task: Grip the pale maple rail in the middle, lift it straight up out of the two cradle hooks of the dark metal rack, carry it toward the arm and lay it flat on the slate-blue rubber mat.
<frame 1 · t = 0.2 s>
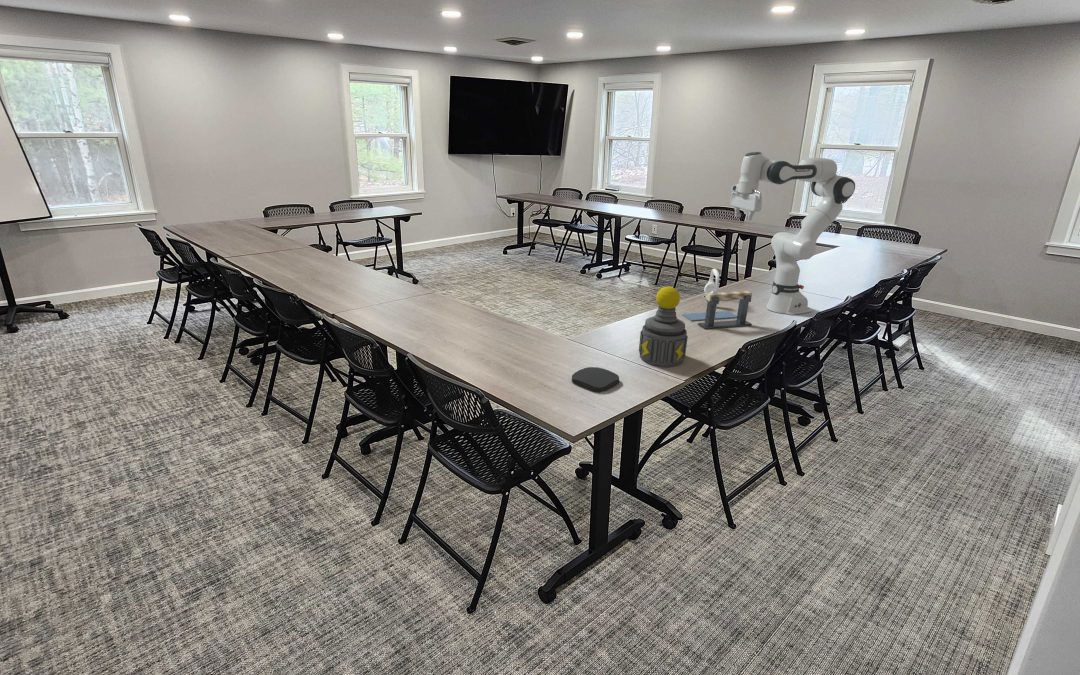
hand: (743, 218, 267), 47 cm above the table, tool pointing down, fingers open, 8 cm apart
rail: (728, 299, 263), point 13 cm above the table, touching hook rack
mat: (710, 316, 279), on the table
media streaming box: (595, 383, 207), on the table
hook rack: (724, 325, 268), on the table
decorative lamp: (661, 358, 229), on the table
headset: (710, 302, 301), on the table
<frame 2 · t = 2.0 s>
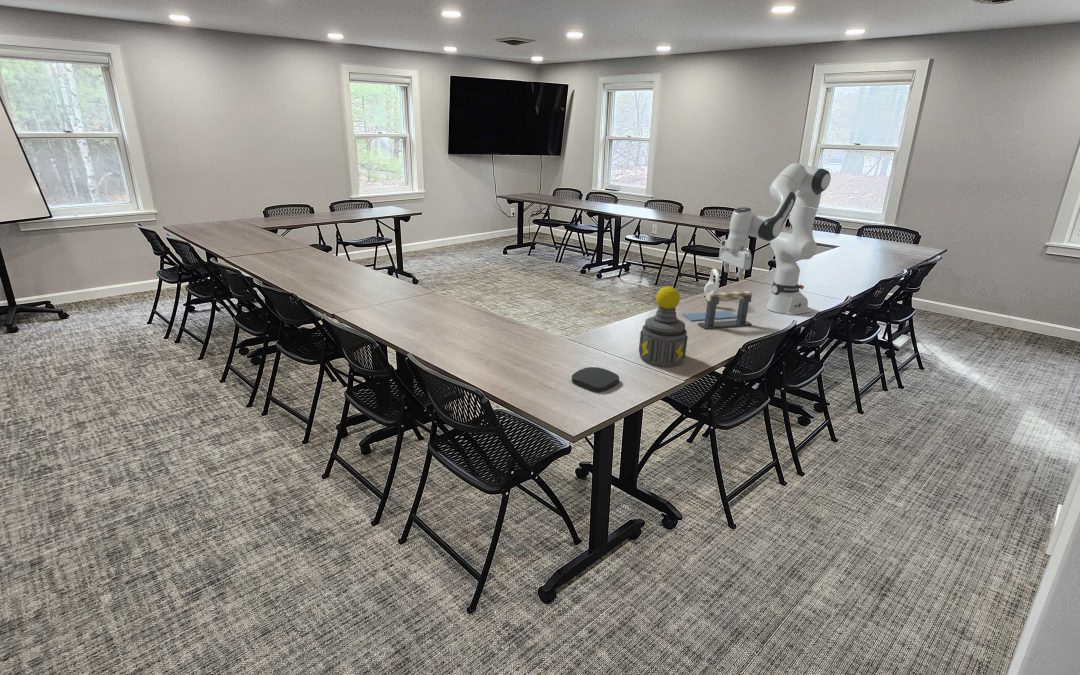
hand: (732, 274, 258), 25 cm above the table, tool pointing down, fingers open, 8 cm apart
nothing on the table moved.
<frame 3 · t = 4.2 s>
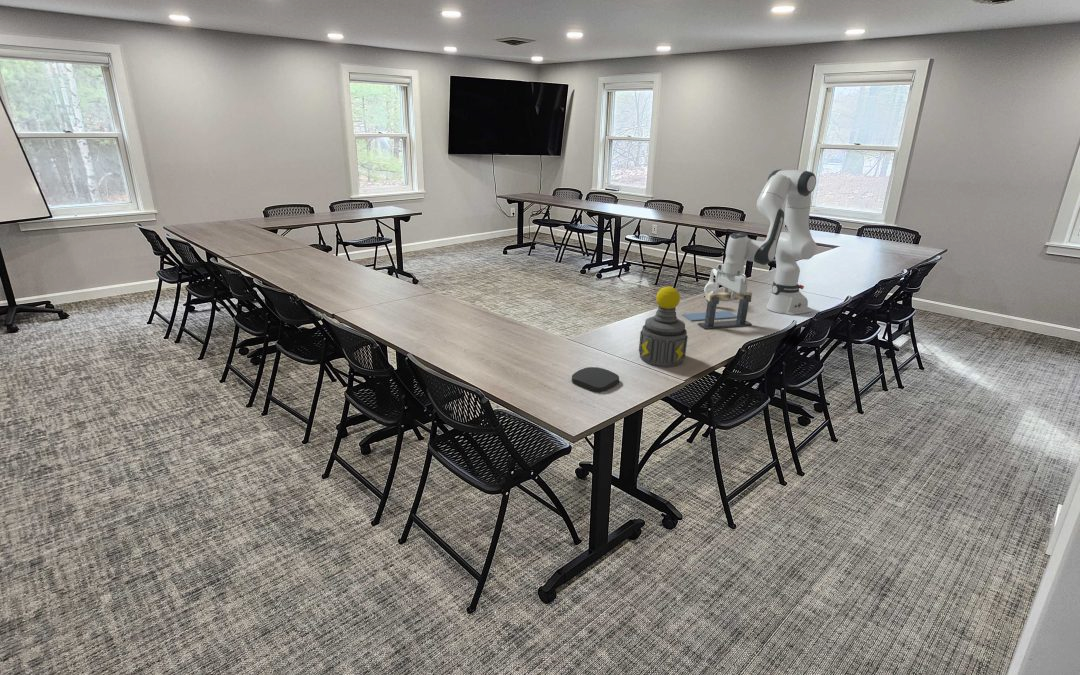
hand: (728, 297, 263), 14 cm above the table, tool pointing down, fingers closed on rail, 3 cm apart
rail: (728, 299, 263), point 13 cm above the table, touching gripper, hook rack
everything else where it was.
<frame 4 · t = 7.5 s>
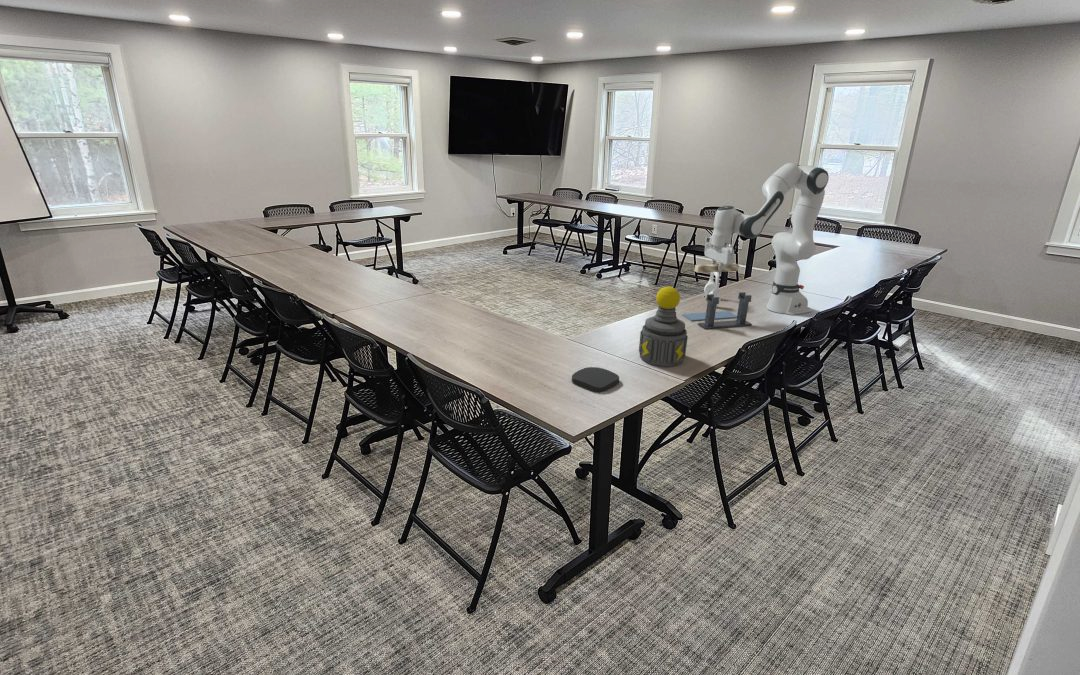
hand: (716, 269, 271), 24 cm above the table, tool pointing down, fingers closed on rail, 3 cm apart
rail: (716, 271, 271), point 23 cm above the table, touching gripper
everything else where it was.
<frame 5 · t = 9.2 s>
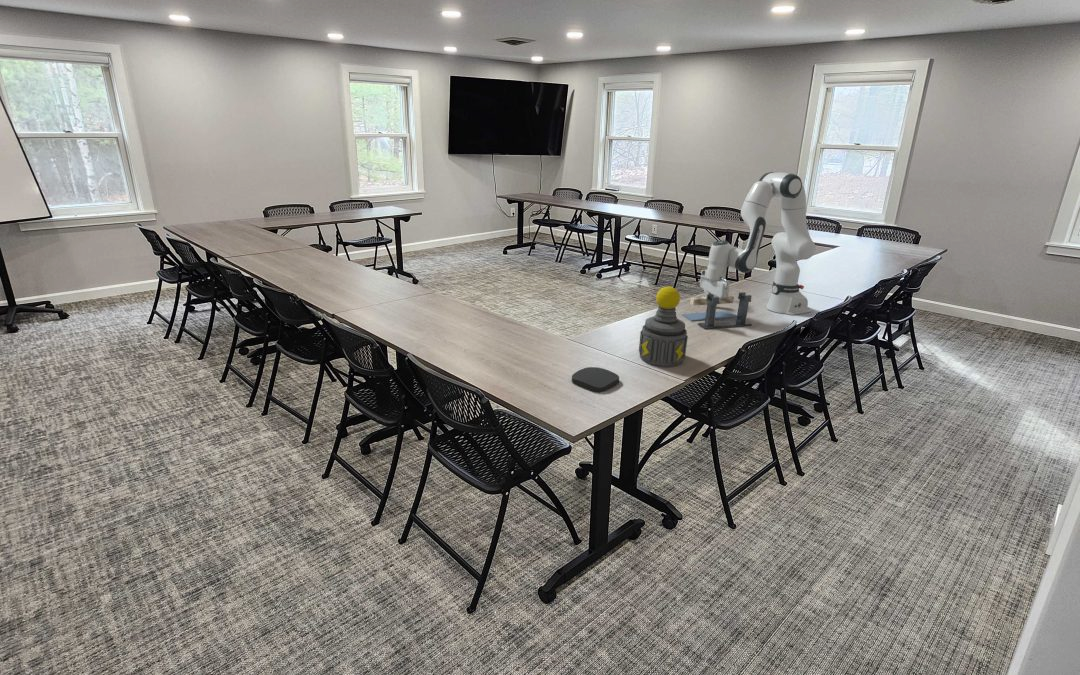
hand: (712, 302, 276), 7 cm above the table, tool pointing down, fingers closed on rail, 3 cm apart
rail: (711, 303, 277), point 7 cm above the table, touching gripper
everything else where it was.
when the fingers open (3 cm above the table, at t = 10.8 s): rail drops 1 cm, resting on mat.
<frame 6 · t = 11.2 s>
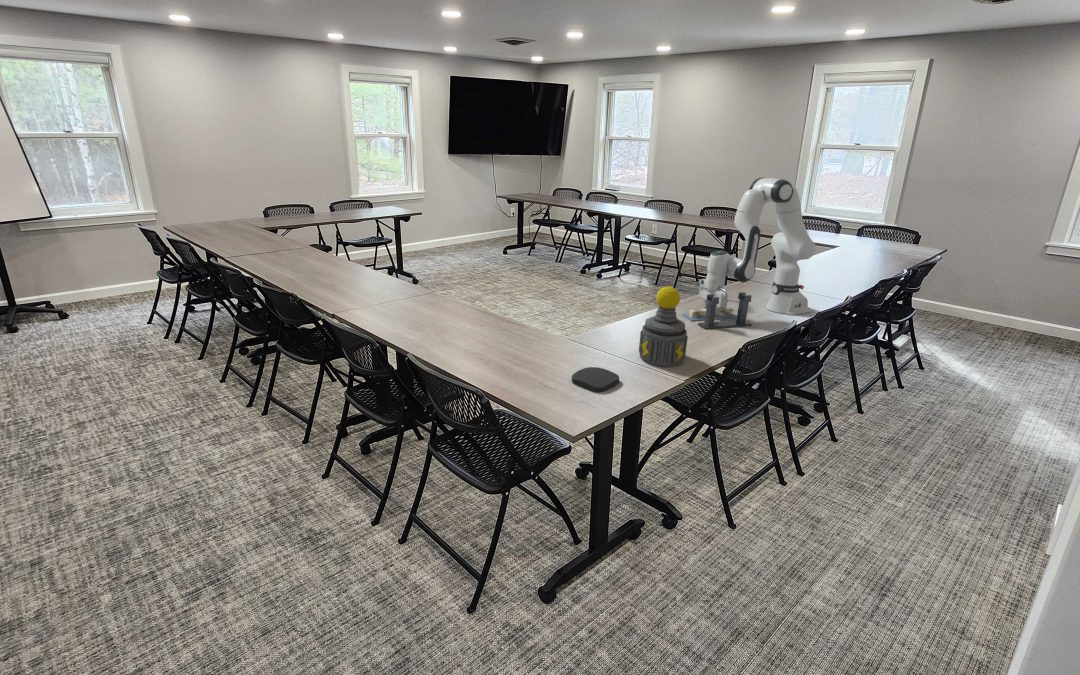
hand: (710, 311, 278), 3 cm above the table, tool pointing down, fingers open, 7 cm apart
rail: (710, 315, 279), point 1 cm above the table, touching mat
everything else where it was.
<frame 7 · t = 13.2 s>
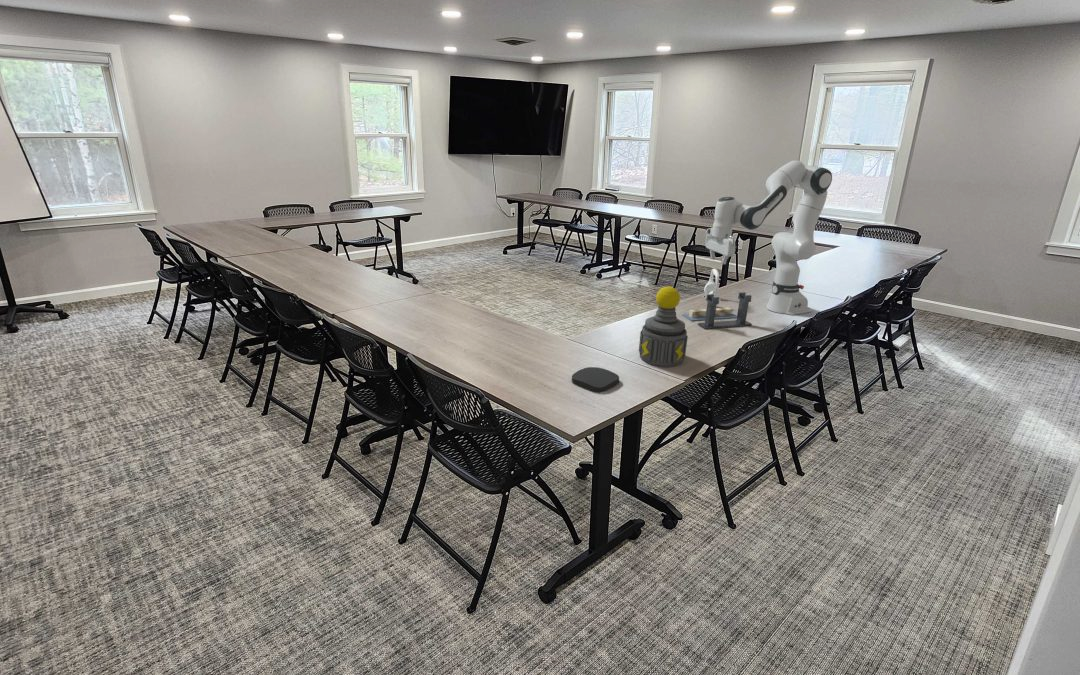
hand: (717, 261, 269), 28 cm above the table, tool pointing down, fingers open, 8 cm apart
nothing on the table moved.
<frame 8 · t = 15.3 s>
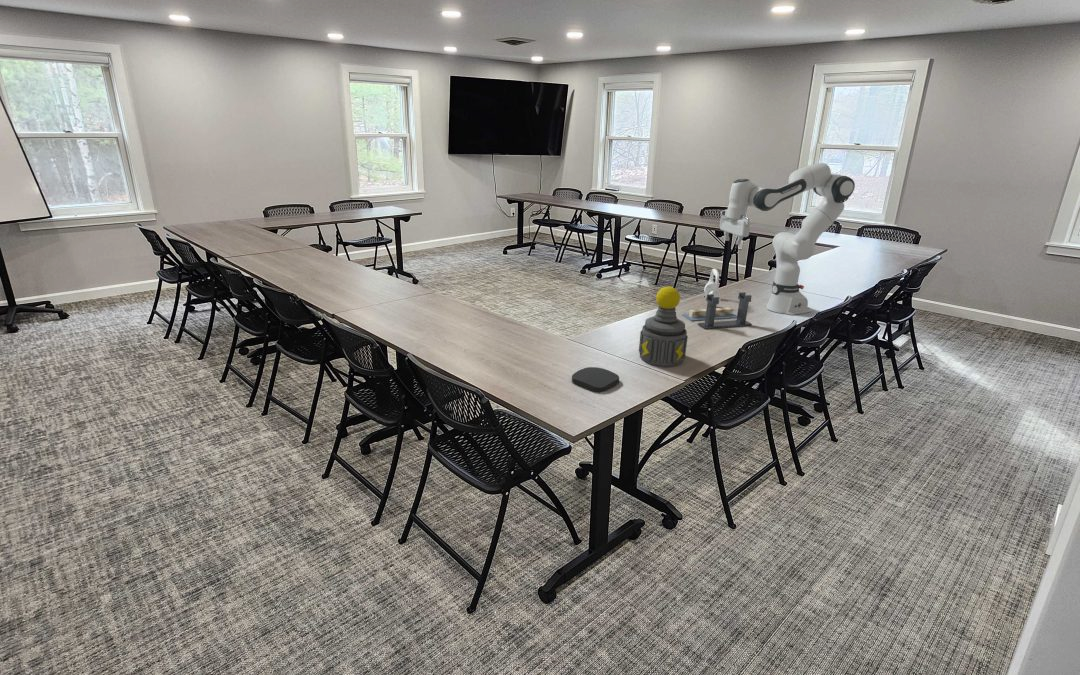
hand: (732, 242, 275), 35 cm above the table, tool pointing down, fingers open, 8 cm apart
nothing on the table moved.
at the end: rail inside the target area on the mat (0.0 cm from its centre), point 0.6 cm above the mat's base; rail touching mat; rail tilted 0° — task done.
